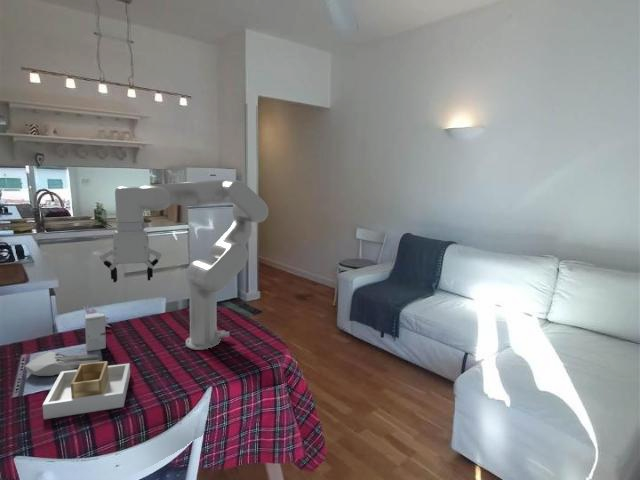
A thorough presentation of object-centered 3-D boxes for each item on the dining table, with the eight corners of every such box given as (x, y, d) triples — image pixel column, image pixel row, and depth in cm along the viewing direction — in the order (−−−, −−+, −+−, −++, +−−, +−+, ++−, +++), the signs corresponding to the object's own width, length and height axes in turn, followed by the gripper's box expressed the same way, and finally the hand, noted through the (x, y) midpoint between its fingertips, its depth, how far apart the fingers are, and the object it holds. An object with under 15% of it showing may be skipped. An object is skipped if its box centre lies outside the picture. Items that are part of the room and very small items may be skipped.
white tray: (130, 375, 118) (129, 363, 117) (123, 406, 102) (122, 393, 102) (62, 384, 112) (61, 371, 111) (43, 419, 96) (42, 404, 95)
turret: (101, 373, 123) (103, 359, 123) (23, 382, 111) (25, 366, 110) (97, 360, 131) (98, 347, 130) (24, 367, 119) (26, 352, 118)
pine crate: (108, 379, 113) (107, 361, 112) (102, 400, 103) (101, 380, 102) (81, 383, 111) (79, 364, 110) (72, 405, 100) (70, 384, 99)
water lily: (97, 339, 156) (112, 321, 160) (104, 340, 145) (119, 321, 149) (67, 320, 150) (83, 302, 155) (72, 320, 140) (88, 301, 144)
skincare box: (86, 352, 131) (84, 318, 129) (86, 346, 135) (83, 314, 133) (106, 348, 135) (105, 315, 133) (105, 343, 138) (104, 311, 136)
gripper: (161, 225, 124) (162, 275, 127) (100, 225, 118) (103, 278, 121) (160, 228, 117) (161, 282, 120) (96, 228, 111) (99, 285, 114)
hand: (132, 280), depth 120 cm, fingers open, 9 cm apart
